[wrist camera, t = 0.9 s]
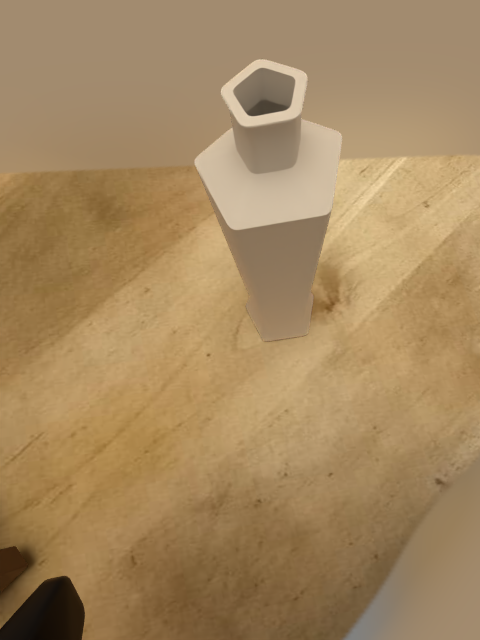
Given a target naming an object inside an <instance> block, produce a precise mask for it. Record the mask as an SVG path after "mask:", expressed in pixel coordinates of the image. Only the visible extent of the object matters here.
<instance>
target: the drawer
mask: <svg viewBox="0 0 480 640" xmlns="http://www.w3.org/2000/svg"><path fill="white" fill-rule="evenodd" d="M27 566H28V564H27V563H26V561H25V560H24V558H23V557H22V555H21V554H20V552H19V551H18V549H17V547H16V546H13V547H9V548H5V549H1V550H0V593H1V592H2V591H3V590H4V589H5V588H6V587H7V586H8V585H9V584H10V583H11V582H12V581H13V580H14V579H15V578H16V577H17V576H18V575H19V574H20V573H21V572H23V571H24V570H25V569H26V568H27Z"/></svg>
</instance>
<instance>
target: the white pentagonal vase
mask: <svg viewBox="0 0 480 640" xmlns="http://www.w3.org/2000/svg"><path fill="white" fill-rule="evenodd" d="M307 82H308V81H307V75H306V74H305V73H304V72H303V71H301V70H298V69H295V68H292V67H288V66H285V65H281V64H278V63H275V62H272V61H269V60H263V59H260V60H256V61H255V62H253V63H251V64H250V65H249V66H247V67H246V68H245V69H244V70H243V71H241V72H240V73H239V74H237V75H236V76H235V77H234V78H232V79H231V80H230V81H229V82H227V84H225V85H224V86H223V87H222V90H221V96H222V98H223V100H224V101H225V103H226V105H227V106H228V108H229V110H230V115H231V122H232V128H231V129H229V130H228V131H227V132H226V133H225V134H223V135H222V136H221V137H220V138H218V139H217V140H216V141H215V142H214V143H212V144H211V145H210V146H209V147H208V148H206V149H205V150H204V151H203V152H202V153H200V154H199V155H198V156H197V157H196V159H195V165H196V168H197V170H198V173H199V175H200V178H201V180H202V183H203V185H204V187H205V190H206V192H207V195H208V197H209V200H210V202H211V204H212V207H213V209H214V212H215V214H216V217H217V219H218V221H219V224H220V226H221V229H222V231H223V234H224V236H225V238H226V241H227V243H228V246H229V248H230V251H231V253H232V255H233V258H234V260H235V263H236V265H237V268H238V270H239V272H240V275H241V277H242V280H243V282H244V284H245V287H246V289H247V292H248V294H249V299H248V301H247V303H246V309H247V311H248V313H249V315H250V317H251V319H252V321H253V323H254V325H255V327H256V329H257V331H258V333H259V335H260V336H261V338H262V340H264V341H274V340H281V339H287V338H294V337H300V336H305V335H307V334H308V332H309V326H310V319H311V312H312V306H313V299H314V296H313V294H312V292H311V288H312V284H313V280H314V276H315V272H316V269H317V265H318V261H319V257H320V253H321V249H322V245H323V241H324V238H325V234H326V230H327V226H328V222H329V218H330V214H331V210H332V206H333V199H334V192H335V185H336V178H337V171H338V164H339V157H340V150H341V142H342V135H341V134H340V132H338V131H336V130H333V129H330V128H327V127H324V126H321V125H318V124H315V123H312V122H309V121H306V120H303V119H301V112H302V109H303V103H304V98H305V93H306V87H307Z"/></svg>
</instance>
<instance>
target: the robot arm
mask: <svg viewBox="0 0 480 640" xmlns="http://www.w3.org/2000/svg"><path fill="white" fill-rule="evenodd" d="M84 618H85V612H84V606H83V603H82V601H81V599H80V597H79V595H78V593H77V591H76V589H75V587H74V585H73V584H72V582H71V580H70V578H68V577H67V576H61V577H56V578H51V579H47V580H45V581H44V582H43V583H42V584H41V585H40V586H39V587H38V588H37V589H36V590H35V591H34V592H33V594H32V595H31V596H30V597H29V598H28V599H27V600H26V601H25V602H24V603H23V605H22V606H21V607H20V608H19V609H18V610H17V611H16V612H15V613H14V614H13V616H12V617H11V618H10V619H9V620H8V621H7V622H6V623H5V624H4V626H3V627H2V628H1V629H0V640H82V633H83V626H84Z"/></svg>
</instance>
